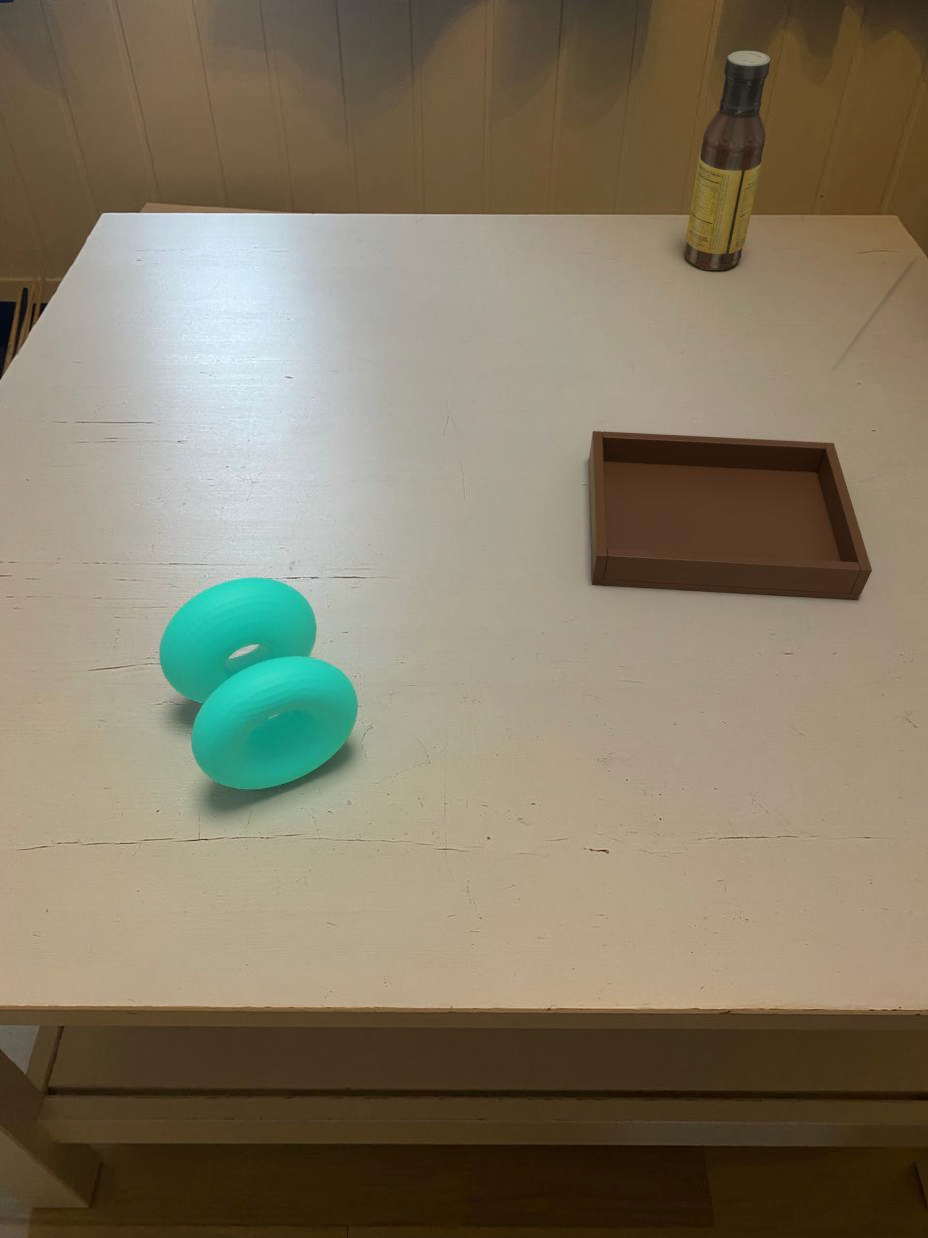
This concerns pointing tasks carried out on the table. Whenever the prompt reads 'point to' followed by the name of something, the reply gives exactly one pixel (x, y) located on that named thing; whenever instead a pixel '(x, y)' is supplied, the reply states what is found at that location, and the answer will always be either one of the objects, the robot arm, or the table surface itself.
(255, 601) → the donuts
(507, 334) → the table surface
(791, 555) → the serving tray
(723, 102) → the sauce bottle
